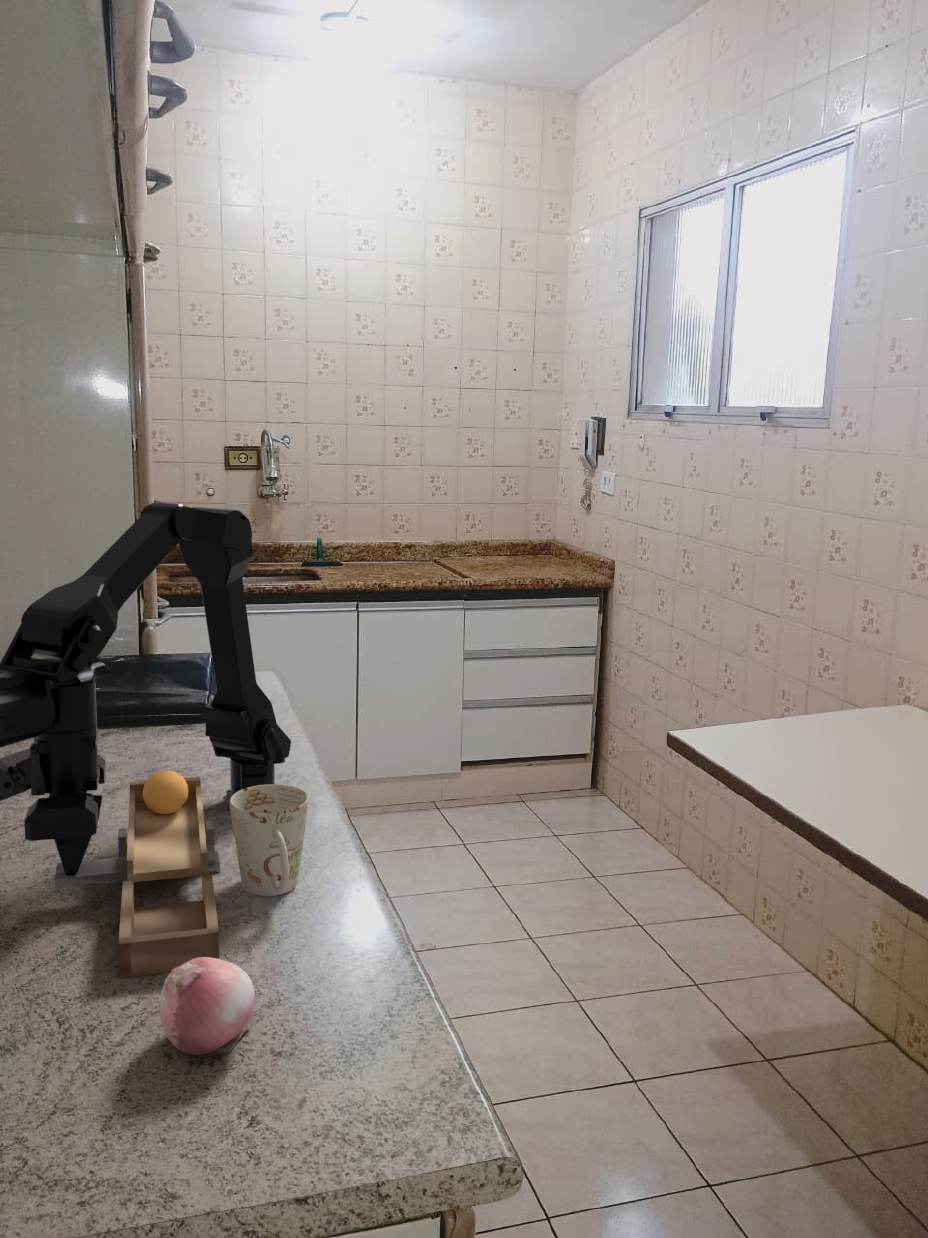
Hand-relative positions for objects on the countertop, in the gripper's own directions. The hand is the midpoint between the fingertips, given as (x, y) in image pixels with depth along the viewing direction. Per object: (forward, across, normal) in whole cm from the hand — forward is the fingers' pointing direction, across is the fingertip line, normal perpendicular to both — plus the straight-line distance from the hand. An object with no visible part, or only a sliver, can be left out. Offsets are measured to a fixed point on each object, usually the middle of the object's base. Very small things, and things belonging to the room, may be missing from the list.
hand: (71, 873), depth 102 cm
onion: (+5, +26, +13) cm, 29 cm away
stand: (+3, -7, +10) cm, 12 cm away
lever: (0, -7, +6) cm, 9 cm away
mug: (+4, +1, +20) cm, 21 cm away
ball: (-4, -11, +9) cm, 15 cm away
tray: (+4, +9, +10) cm, 13 cm away
